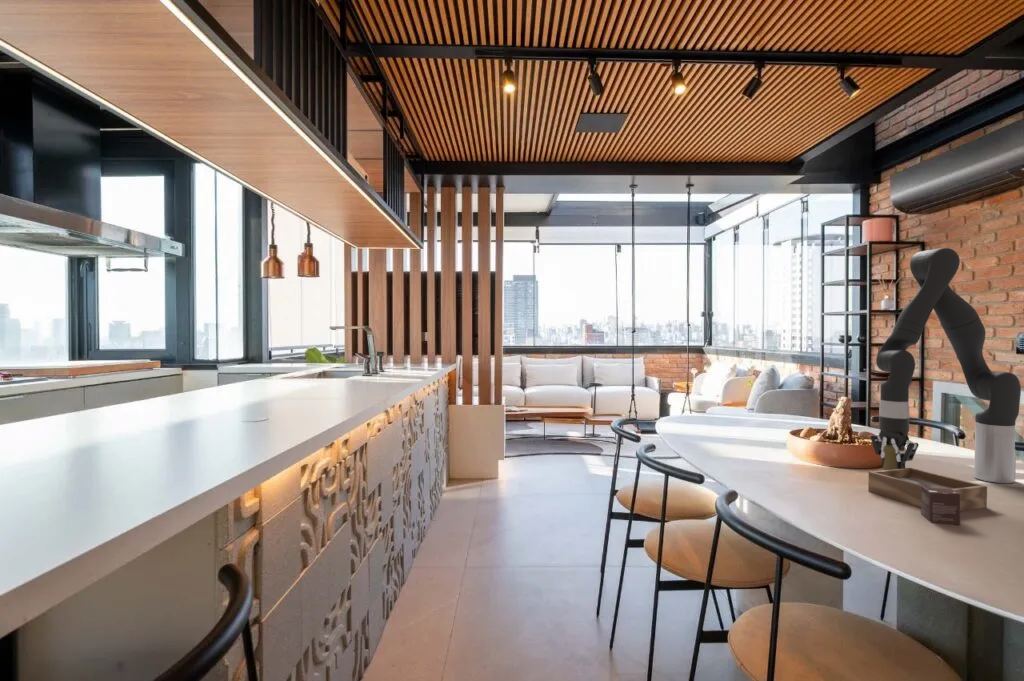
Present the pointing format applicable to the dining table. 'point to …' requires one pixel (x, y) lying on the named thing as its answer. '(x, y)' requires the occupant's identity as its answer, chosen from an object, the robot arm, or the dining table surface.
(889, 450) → the cork
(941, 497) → the box
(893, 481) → the wooden tray
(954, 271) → the robot arm
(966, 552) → the dining table surface
